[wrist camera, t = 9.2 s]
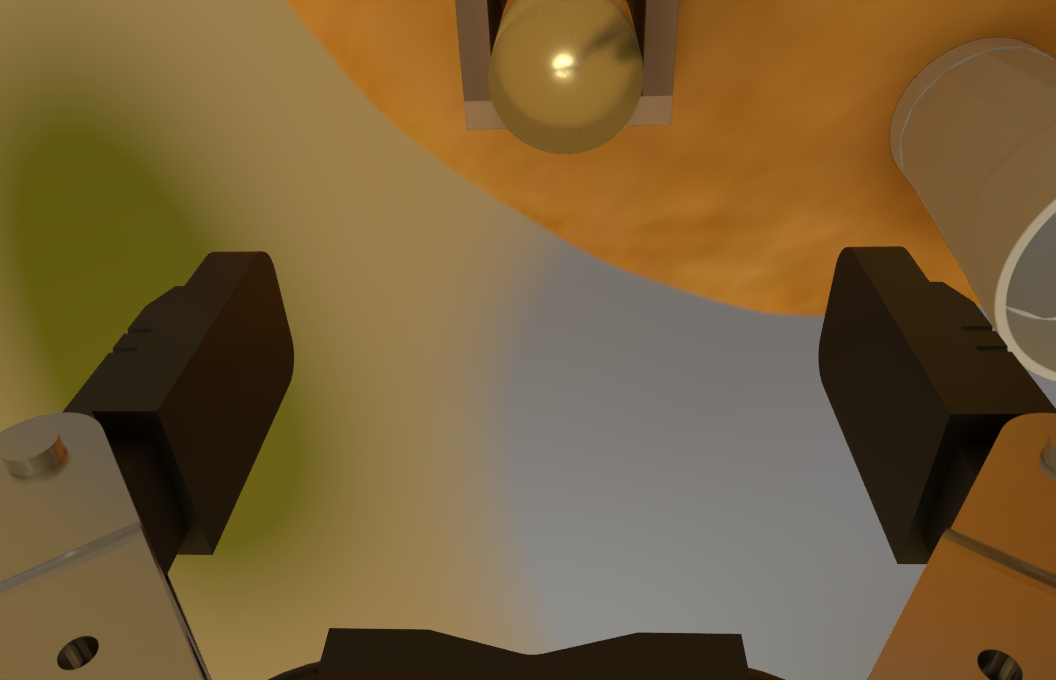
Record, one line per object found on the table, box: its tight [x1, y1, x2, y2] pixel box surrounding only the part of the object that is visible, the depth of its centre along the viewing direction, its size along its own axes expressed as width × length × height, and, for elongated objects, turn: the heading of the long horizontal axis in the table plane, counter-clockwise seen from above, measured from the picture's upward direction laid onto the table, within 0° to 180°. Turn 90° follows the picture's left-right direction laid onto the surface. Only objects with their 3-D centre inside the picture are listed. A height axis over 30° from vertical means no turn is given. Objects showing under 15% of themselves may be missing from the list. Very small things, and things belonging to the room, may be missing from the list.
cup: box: [889, 37, 1056, 381], centre depth 27 cm, size 8×8×12 cm
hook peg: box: [488, 0, 643, 154], centre depth 25 cm, size 4×4×11 cm
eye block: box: [455, 0, 678, 130], centre depth 28 cm, size 7×7×5 cm
